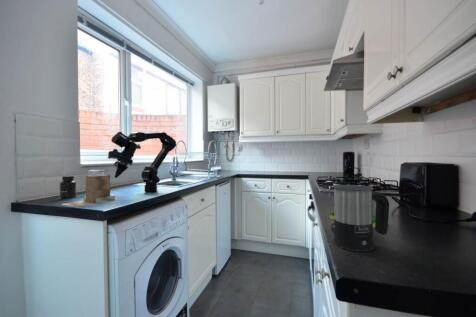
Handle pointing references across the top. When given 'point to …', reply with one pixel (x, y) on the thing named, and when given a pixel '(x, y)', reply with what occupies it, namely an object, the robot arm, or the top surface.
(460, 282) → the top surface
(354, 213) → the milk frother
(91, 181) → the block
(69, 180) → the supplement bottle
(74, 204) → the chute
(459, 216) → the top surface
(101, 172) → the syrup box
